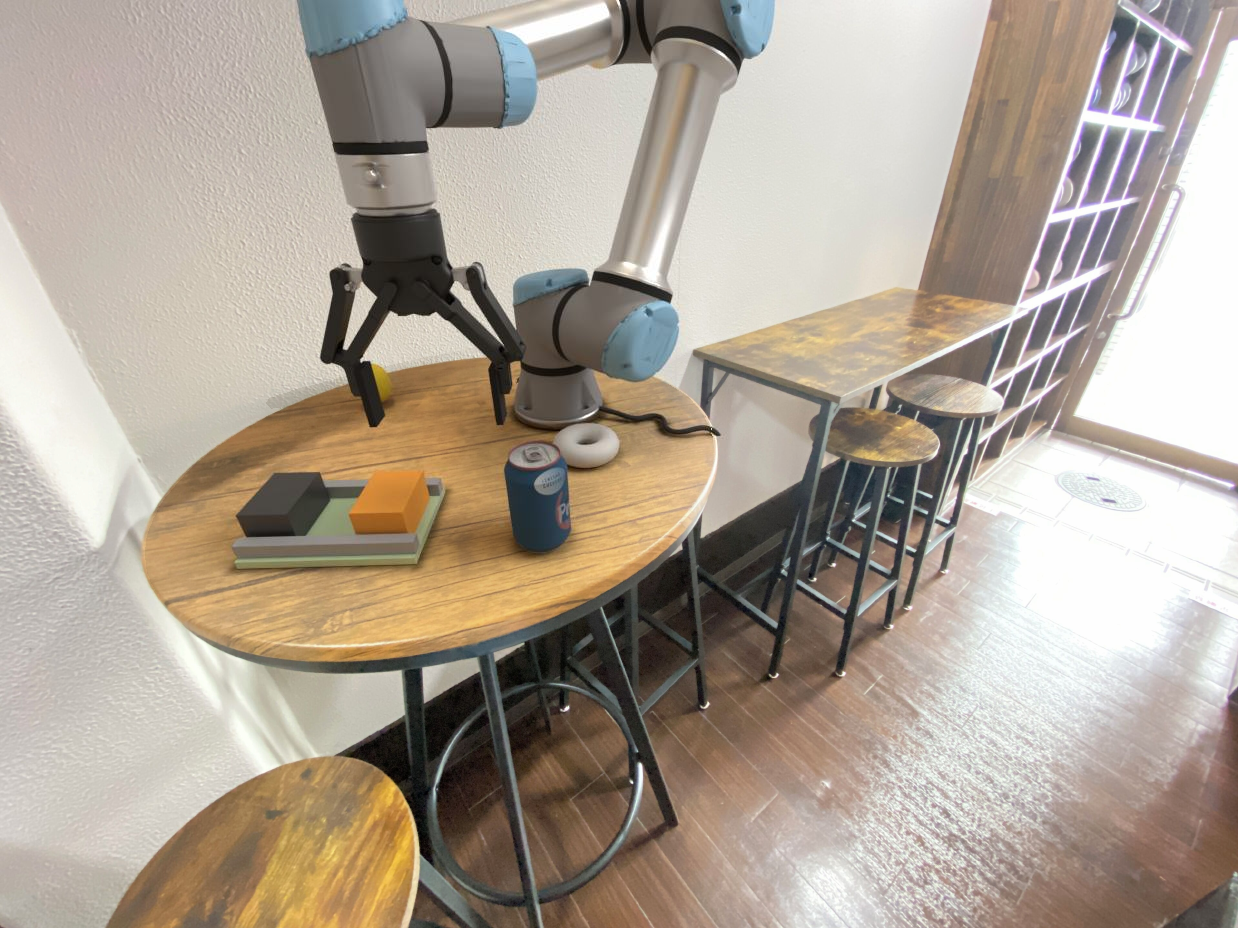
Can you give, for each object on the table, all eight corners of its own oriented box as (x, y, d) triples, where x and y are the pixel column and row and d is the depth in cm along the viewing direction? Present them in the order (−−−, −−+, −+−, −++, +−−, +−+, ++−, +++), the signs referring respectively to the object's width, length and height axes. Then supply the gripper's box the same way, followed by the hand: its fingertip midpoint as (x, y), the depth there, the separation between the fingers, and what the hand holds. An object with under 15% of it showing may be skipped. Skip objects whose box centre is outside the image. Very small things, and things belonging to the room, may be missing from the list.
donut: (540, 460, 79) (595, 479, 75) (537, 440, 77) (594, 458, 73) (579, 432, 86) (632, 448, 82) (577, 413, 84) (631, 428, 80)
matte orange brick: (430, 498, 69) (423, 469, 67) (410, 542, 62) (402, 512, 60) (383, 499, 69) (374, 470, 67) (358, 543, 62) (348, 513, 60)
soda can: (577, 550, 62) (572, 465, 56) (517, 562, 61) (505, 475, 54) (565, 515, 68) (559, 433, 61) (510, 525, 66) (498, 442, 60)
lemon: (402, 402, 95) (391, 360, 91) (375, 415, 91) (363, 371, 87) (382, 395, 98) (371, 354, 93) (355, 407, 94) (342, 364, 89)
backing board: (445, 492, 72) (438, 457, 69) (416, 564, 61) (405, 526, 58) (295, 495, 72) (281, 461, 69) (237, 568, 60) (217, 531, 57)
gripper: (226, 216, 44) (309, 439, 55) (531, 214, 44) (550, 435, 56) (274, 204, 50) (339, 406, 62) (540, 202, 51) (555, 403, 62)
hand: (439, 420), depth 59 cm, fingers open, 13 cm apart
